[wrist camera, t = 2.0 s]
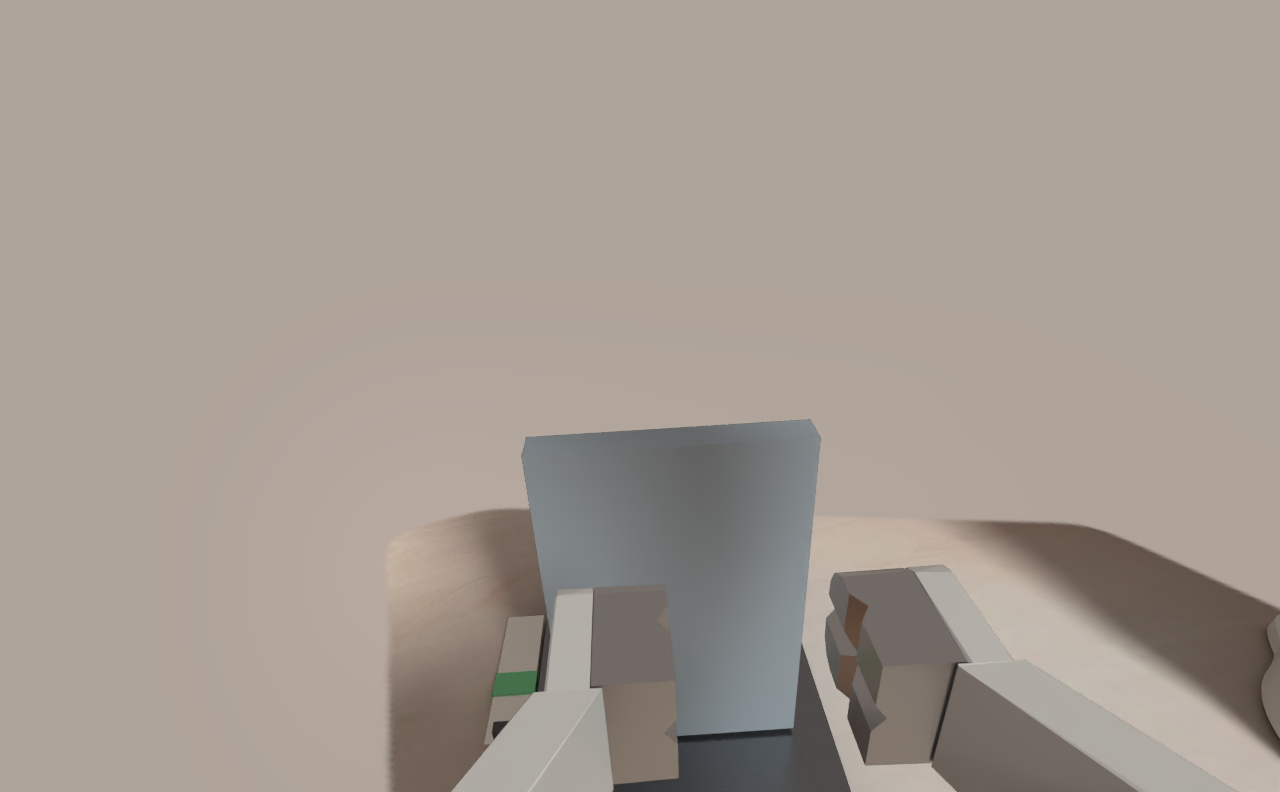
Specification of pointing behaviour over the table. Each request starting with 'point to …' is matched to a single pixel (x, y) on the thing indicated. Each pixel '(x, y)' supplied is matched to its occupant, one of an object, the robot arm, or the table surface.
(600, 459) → the grey upright panel
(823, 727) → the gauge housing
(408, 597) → the table surface
